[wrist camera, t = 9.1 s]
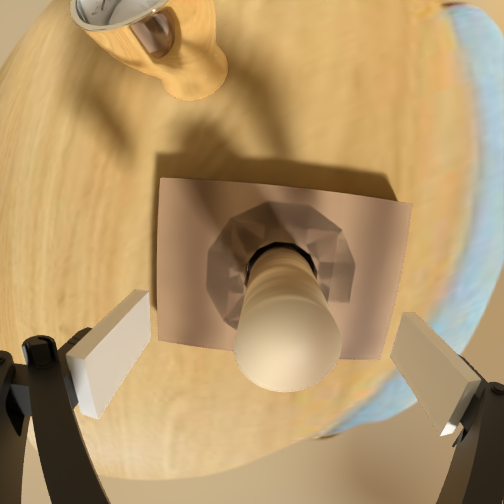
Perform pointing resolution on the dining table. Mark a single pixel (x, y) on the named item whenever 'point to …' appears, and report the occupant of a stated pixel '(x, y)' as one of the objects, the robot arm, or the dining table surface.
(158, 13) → the metal cup
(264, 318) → the peg
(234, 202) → the board
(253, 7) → the dining table surface
